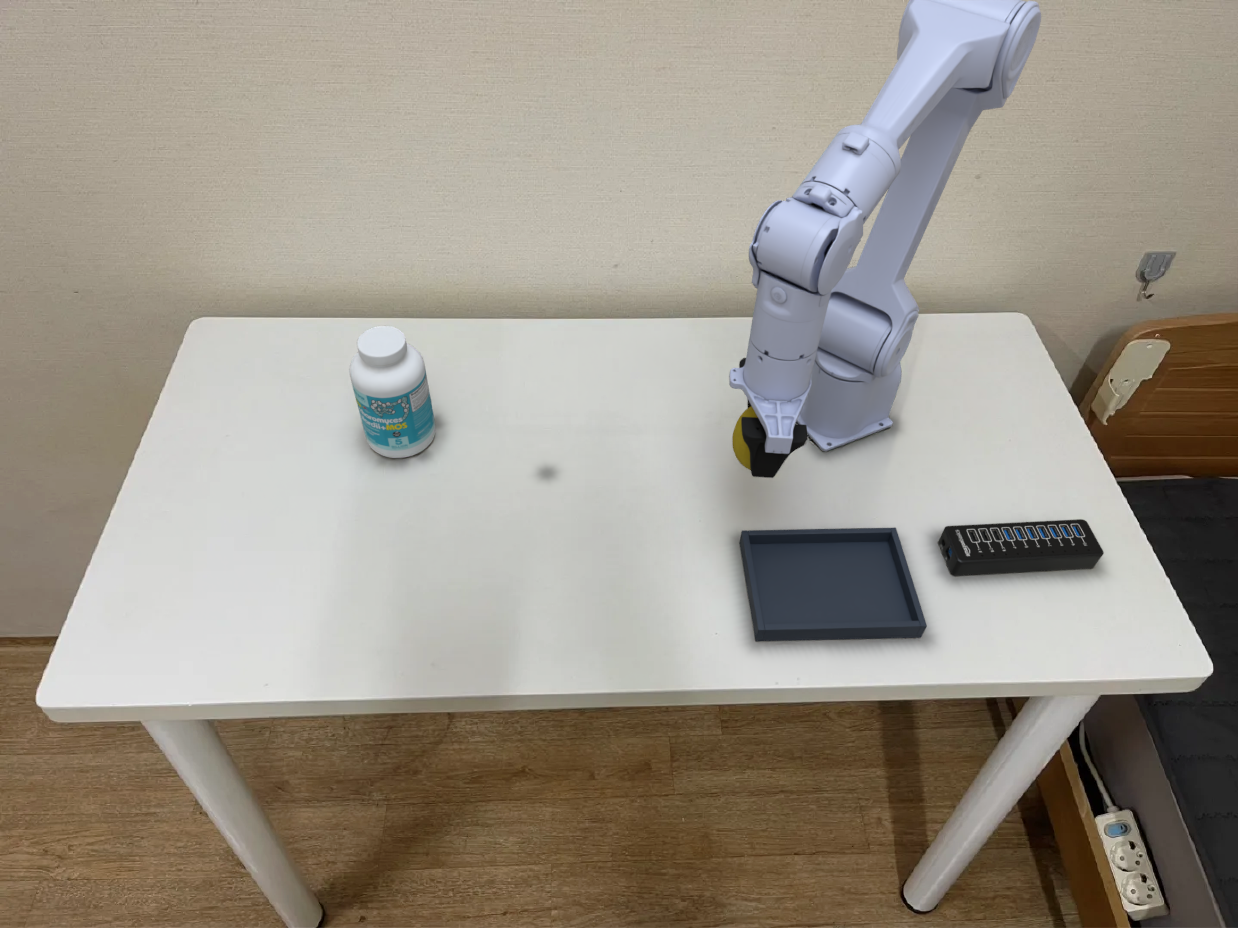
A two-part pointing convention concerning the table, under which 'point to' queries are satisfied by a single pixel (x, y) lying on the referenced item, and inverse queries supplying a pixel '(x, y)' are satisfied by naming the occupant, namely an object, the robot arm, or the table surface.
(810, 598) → the tray
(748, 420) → the robot arm
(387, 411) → the pill bottle
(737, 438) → the lemon
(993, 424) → the table surface
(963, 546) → the multiport hub
